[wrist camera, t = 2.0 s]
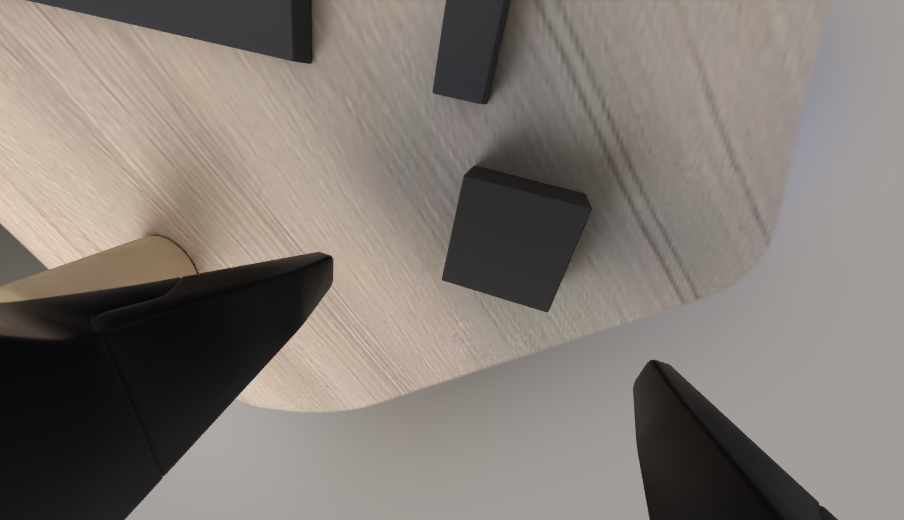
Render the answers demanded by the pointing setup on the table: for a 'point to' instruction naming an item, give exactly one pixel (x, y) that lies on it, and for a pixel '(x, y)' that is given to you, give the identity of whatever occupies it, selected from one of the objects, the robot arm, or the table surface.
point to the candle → (106, 271)
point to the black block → (514, 237)
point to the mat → (289, 32)
